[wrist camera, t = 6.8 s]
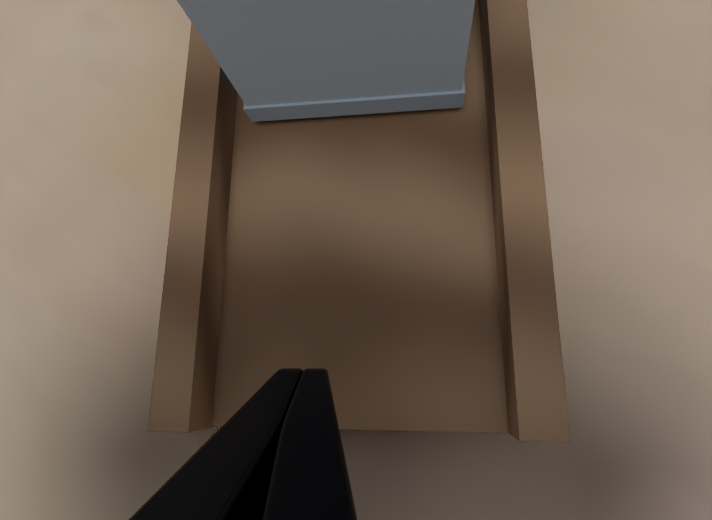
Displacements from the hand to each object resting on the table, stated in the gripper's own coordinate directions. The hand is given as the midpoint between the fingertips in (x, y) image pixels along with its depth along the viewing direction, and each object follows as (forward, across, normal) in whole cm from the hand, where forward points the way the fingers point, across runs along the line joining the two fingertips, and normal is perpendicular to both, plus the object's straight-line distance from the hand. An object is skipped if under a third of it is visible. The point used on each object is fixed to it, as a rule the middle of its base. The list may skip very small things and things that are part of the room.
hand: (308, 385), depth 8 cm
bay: (+11, 0, -1) cm, 11 cm away
